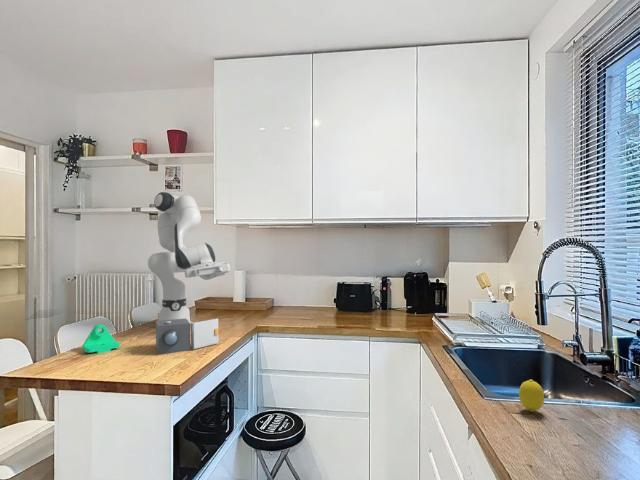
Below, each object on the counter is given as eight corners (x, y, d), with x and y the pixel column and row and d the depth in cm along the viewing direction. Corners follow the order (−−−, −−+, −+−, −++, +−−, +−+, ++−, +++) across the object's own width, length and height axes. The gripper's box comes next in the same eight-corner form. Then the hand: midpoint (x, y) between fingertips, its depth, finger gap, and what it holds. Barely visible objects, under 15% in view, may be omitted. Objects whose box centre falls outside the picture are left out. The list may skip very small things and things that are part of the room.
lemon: (523, 416, 97) (523, 382, 97) (516, 406, 102) (515, 375, 102) (548, 417, 96) (547, 383, 96) (539, 407, 101) (538, 376, 101)
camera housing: (155, 347, 166) (155, 319, 166) (186, 343, 171) (185, 316, 171) (158, 355, 153) (158, 325, 153) (191, 351, 158) (190, 322, 158)
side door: (217, 342, 171) (216, 318, 171) (219, 343, 170) (219, 318, 170) (190, 349, 160) (190, 323, 161) (192, 349, 159) (192, 323, 160)
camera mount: (87, 355, 155) (87, 329, 155) (82, 352, 161) (82, 326, 161) (120, 349, 163) (120, 324, 164) (114, 346, 169) (114, 322, 169)
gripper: (183, 267, 188) (183, 267, 175) (227, 261, 195) (229, 260, 182) (185, 280, 188) (184, 281, 175) (229, 273, 195) (231, 274, 181)
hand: (208, 270), depth 178 cm, fingers open, 8 cm apart
